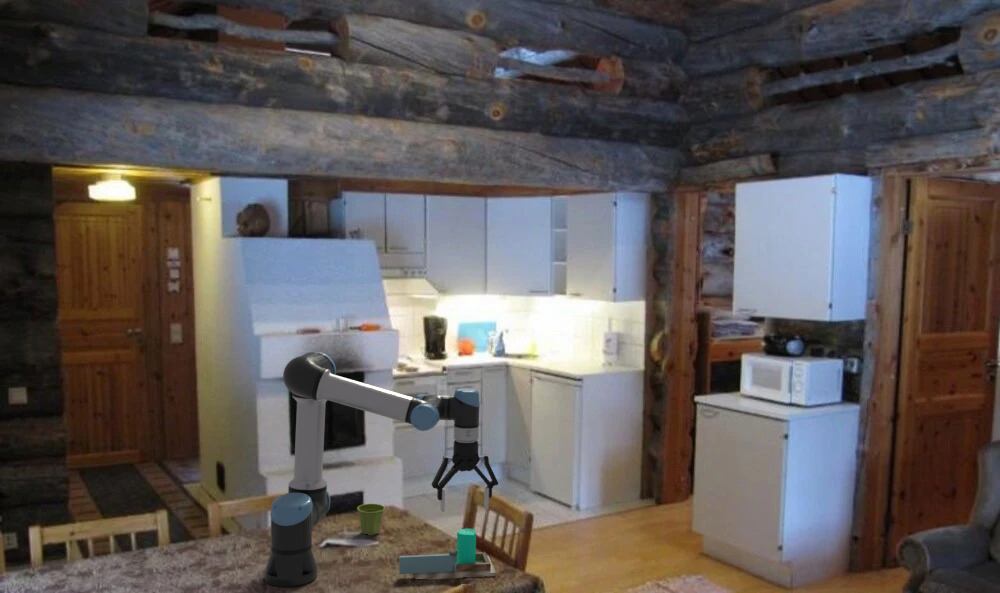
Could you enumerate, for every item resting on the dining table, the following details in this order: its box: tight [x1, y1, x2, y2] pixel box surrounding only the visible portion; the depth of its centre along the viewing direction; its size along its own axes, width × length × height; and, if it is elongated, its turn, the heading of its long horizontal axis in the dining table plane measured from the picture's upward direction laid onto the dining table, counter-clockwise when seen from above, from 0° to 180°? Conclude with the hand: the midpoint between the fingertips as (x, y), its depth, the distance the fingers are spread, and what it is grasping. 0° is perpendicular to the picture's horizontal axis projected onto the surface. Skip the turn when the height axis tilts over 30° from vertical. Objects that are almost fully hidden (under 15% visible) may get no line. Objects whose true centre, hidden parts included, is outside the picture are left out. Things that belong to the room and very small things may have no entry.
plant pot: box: [356, 503, 386, 536], centre depth 279 cm, size 9×9×9 cm
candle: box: [456, 528, 477, 564], centre depth 249 cm, size 6×6×12 cm
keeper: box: [398, 549, 458, 575], centre depth 242 cm, size 2×17×6 cm, turn 100°
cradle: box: [413, 551, 497, 580], centre depth 248 cm, size 24×14×3 cm, turn 100°
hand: (464, 509), depth 248 cm, fingers open, 13 cm apart
